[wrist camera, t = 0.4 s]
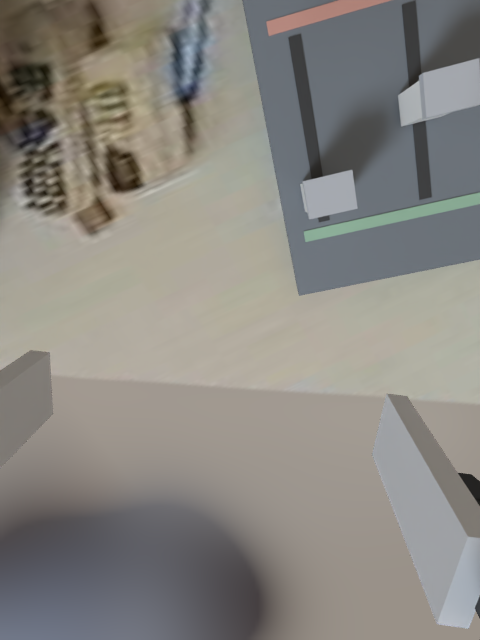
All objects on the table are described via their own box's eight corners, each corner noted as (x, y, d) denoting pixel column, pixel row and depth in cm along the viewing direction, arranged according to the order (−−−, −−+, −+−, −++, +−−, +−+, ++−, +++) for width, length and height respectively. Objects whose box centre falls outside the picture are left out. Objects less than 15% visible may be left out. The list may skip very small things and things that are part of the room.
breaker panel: (236, -33, 33) (234, -47, 31) (564, -138, 30) (585, -161, 28) (297, 290, 41) (299, 295, 39) (560, 237, 38) (576, 240, 36)
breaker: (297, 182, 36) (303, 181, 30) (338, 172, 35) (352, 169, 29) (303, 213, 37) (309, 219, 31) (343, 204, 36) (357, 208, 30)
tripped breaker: (395, 93, 33) (422, 73, 27) (440, 81, 33) (479, 58, 27) (398, 129, 34) (426, 117, 28) (443, 118, 33) (481, 104, 27)
